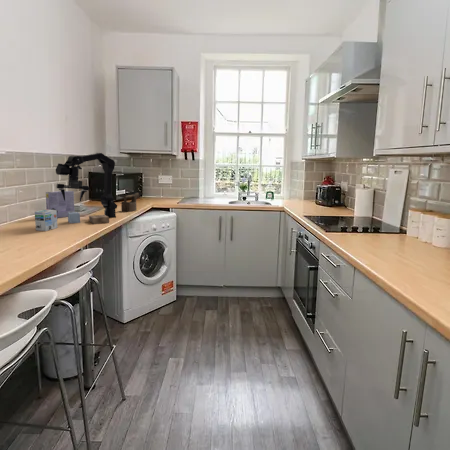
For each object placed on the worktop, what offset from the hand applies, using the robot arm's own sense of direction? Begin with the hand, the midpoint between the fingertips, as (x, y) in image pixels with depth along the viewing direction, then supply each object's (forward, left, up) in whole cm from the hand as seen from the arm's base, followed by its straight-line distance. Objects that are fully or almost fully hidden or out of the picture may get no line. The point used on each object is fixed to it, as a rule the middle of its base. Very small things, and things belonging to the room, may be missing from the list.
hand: (72, 200), depth 230 cm
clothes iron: (-50, -33, -14) cm, 61 cm away
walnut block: (-14, +7, -14) cm, 21 cm away
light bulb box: (+18, +17, -14) cm, 28 cm away
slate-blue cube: (0, +1, -14) cm, 14 cm away
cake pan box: (+3, -23, -14) cm, 27 cm away
